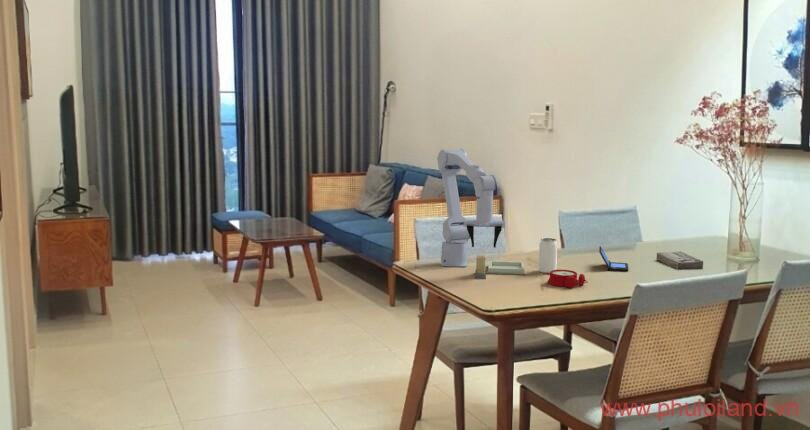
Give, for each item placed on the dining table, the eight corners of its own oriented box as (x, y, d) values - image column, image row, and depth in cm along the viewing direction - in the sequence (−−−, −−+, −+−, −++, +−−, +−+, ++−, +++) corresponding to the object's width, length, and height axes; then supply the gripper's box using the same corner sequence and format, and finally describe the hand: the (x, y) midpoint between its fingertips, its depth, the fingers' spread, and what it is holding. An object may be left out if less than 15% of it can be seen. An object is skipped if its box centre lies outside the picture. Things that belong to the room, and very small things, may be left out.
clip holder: (474, 278, 275) (474, 271, 275) (475, 272, 284) (475, 266, 283) (485, 278, 275) (485, 271, 274) (486, 273, 283) (486, 266, 283)
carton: (476, 277, 277) (476, 257, 276) (476, 274, 282) (477, 254, 281) (484, 277, 277) (485, 257, 276) (485, 274, 281) (485, 254, 280)
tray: (488, 273, 283) (488, 268, 282) (489, 265, 296) (489, 260, 295) (524, 274, 281) (524, 269, 281) (523, 267, 294) (524, 262, 293)
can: (557, 270, 289) (558, 238, 287) (554, 274, 283) (556, 241, 281) (540, 269, 291) (541, 237, 289) (537, 272, 285) (538, 240, 283)
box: (680, 258, 310) (680, 250, 310) (703, 269, 294) (704, 260, 293) (655, 260, 309) (655, 252, 308) (677, 270, 292) (677, 262, 291)
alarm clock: (558, 268, 276) (592, 266, 264) (561, 286, 276) (595, 284, 264) (539, 272, 269) (573, 270, 258) (541, 290, 269) (576, 288, 258)
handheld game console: (628, 272, 287) (629, 253, 286) (598, 271, 289) (599, 251, 288) (627, 265, 299) (628, 246, 298) (598, 264, 301) (599, 245, 300)
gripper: (463, 210, 273) (463, 248, 275) (505, 211, 272) (504, 249, 274) (464, 207, 280) (463, 244, 282) (504, 208, 279) (503, 245, 281)
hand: (483, 246), depth 278 cm, fingers open, 7 cm apart
